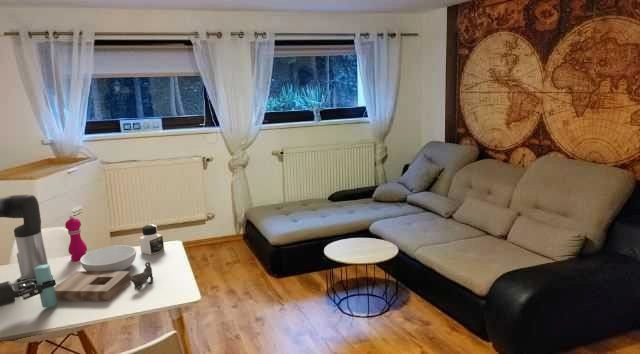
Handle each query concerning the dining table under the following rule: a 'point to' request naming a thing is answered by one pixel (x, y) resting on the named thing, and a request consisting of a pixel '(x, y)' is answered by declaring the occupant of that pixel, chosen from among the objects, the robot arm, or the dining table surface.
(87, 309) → the dining table surface
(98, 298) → the socket board
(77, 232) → the pepper mill
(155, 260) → the dining table surface
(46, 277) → the pin
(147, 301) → the dining table surface
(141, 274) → the dog figurine
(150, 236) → the medicine bottle
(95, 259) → the serving bowl
